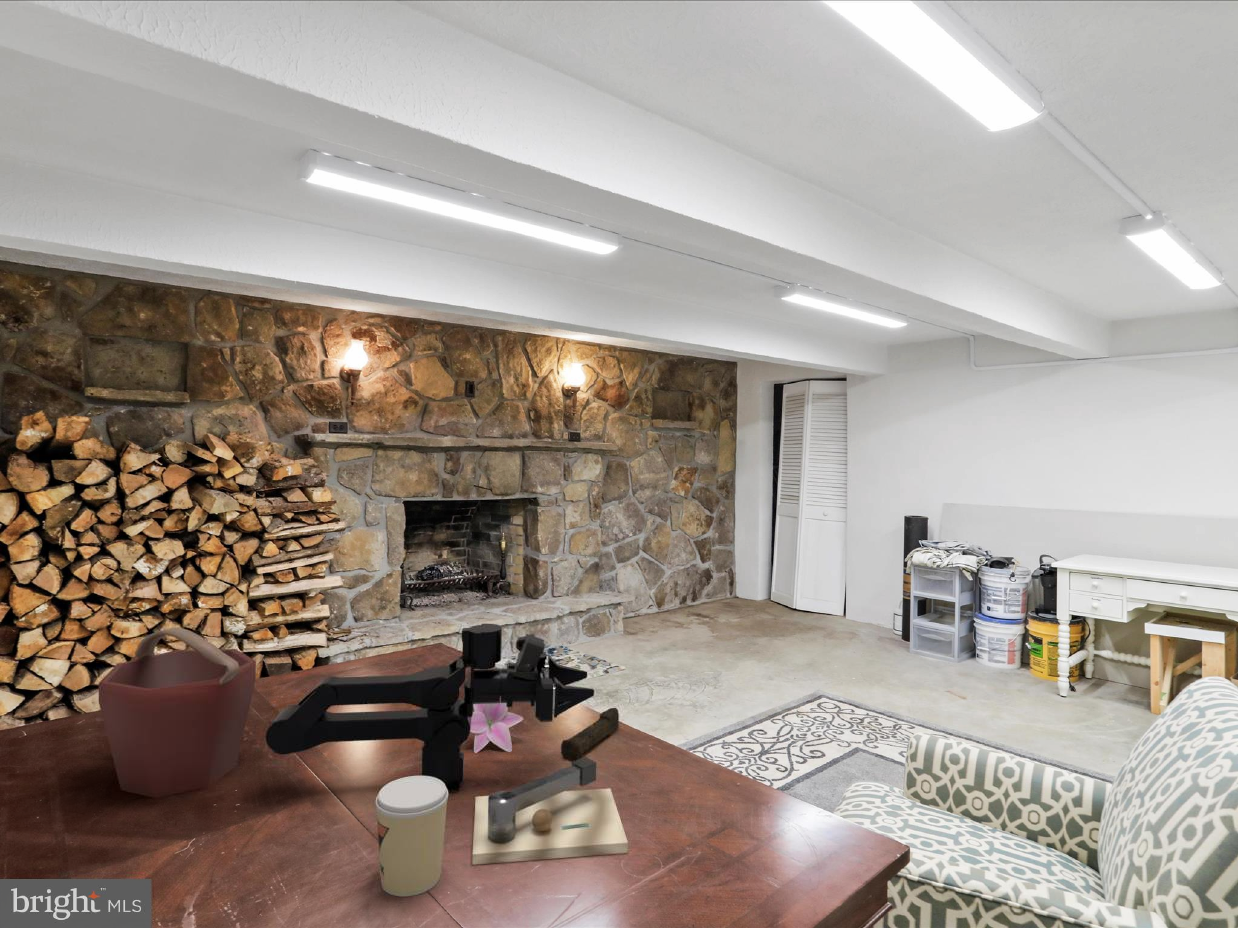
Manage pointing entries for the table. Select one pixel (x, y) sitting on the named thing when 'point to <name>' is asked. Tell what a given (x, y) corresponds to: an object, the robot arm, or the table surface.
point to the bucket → (176, 714)
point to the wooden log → (591, 735)
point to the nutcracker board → (554, 829)
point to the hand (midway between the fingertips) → (590, 683)
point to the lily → (492, 725)
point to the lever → (533, 797)
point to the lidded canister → (411, 834)
